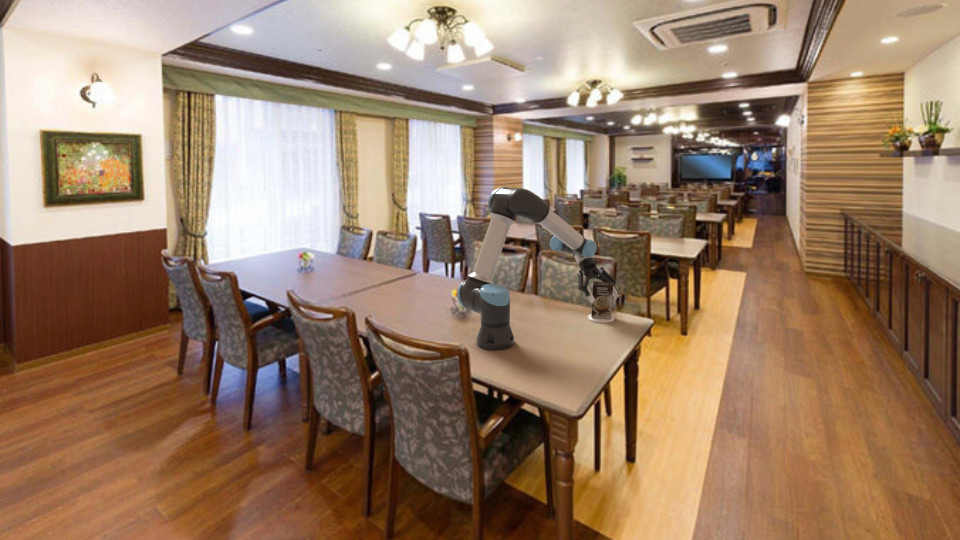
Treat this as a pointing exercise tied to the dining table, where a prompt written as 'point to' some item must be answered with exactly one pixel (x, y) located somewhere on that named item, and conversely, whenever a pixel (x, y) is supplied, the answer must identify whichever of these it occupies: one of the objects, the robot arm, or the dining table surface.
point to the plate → (601, 319)
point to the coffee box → (602, 300)
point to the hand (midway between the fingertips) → (605, 299)
